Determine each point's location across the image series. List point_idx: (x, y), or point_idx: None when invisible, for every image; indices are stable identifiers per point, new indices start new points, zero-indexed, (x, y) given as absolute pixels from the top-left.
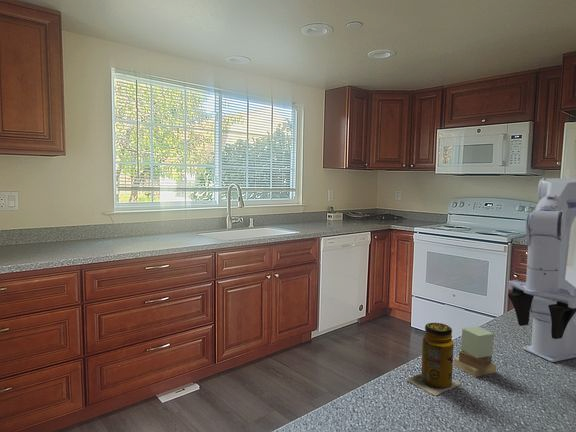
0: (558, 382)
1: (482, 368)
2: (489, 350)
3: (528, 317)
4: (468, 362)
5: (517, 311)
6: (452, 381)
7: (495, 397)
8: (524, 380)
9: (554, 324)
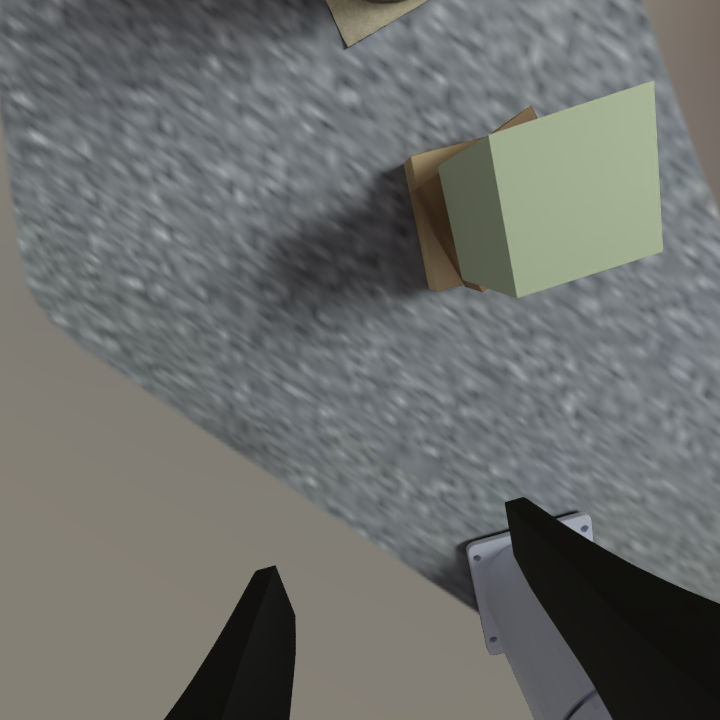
0: (330, 472)
1: (416, 203)
2: (467, 257)
3: (545, 604)
4: None
5: (590, 562)
6: (371, 12)
7: (228, 149)
8: (354, 363)
9: (215, 668)
